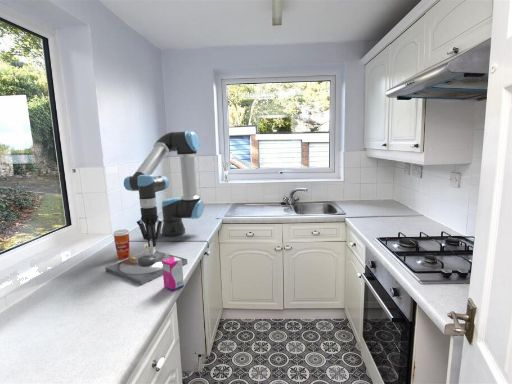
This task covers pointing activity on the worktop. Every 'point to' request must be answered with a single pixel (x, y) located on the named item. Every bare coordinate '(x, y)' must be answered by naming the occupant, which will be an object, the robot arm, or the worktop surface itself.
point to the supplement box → (172, 273)
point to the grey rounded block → (146, 257)
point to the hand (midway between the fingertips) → (153, 252)
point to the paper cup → (122, 243)
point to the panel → (140, 268)
